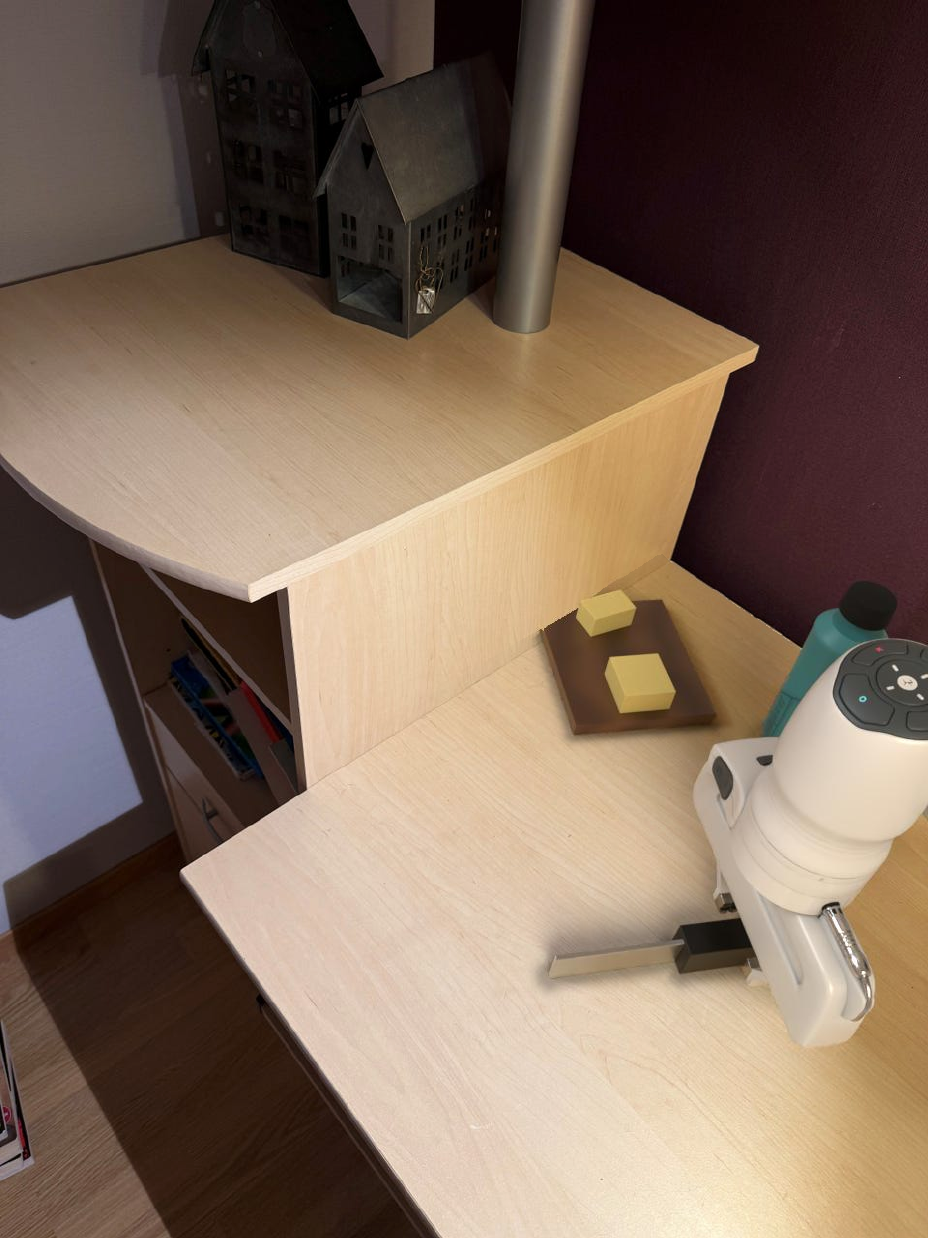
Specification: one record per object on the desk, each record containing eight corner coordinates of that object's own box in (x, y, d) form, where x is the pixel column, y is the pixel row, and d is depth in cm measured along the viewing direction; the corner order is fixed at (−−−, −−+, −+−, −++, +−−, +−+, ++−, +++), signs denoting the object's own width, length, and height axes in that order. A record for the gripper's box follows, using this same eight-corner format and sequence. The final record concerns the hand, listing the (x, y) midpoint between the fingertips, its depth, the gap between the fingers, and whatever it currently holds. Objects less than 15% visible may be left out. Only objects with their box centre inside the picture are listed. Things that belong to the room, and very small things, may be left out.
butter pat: (615, 606, 96) (620, 588, 94) (631, 625, 94) (636, 607, 92) (575, 617, 94) (580, 600, 92) (590, 637, 92) (595, 619, 90)
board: (658, 609, 98) (662, 599, 97) (712, 724, 87) (717, 714, 86) (534, 616, 96) (536, 605, 95) (573, 735, 85) (576, 725, 84)
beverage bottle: (753, 767, 84) (835, 612, 70) (754, 715, 89) (831, 559, 75) (824, 785, 83) (921, 632, 69) (821, 731, 88) (911, 577, 74)
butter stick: (652, 670, 90) (658, 653, 88) (669, 709, 86) (676, 691, 84) (604, 674, 89) (609, 656, 87) (619, 713, 85) (625, 696, 83)
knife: (763, 932, 72) (776, 912, 70) (775, 961, 70) (789, 942, 68) (545, 960, 69) (552, 941, 66) (552, 992, 67) (560, 973, 65)
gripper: (928, 990, 53) (838, 1076, 63) (783, 719, 67) (727, 823, 77) (831, 1005, 52) (754, 1090, 62) (704, 726, 66) (657, 830, 76)
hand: (738, 940), depth 69 cm, fingers open, 4 cm apart
